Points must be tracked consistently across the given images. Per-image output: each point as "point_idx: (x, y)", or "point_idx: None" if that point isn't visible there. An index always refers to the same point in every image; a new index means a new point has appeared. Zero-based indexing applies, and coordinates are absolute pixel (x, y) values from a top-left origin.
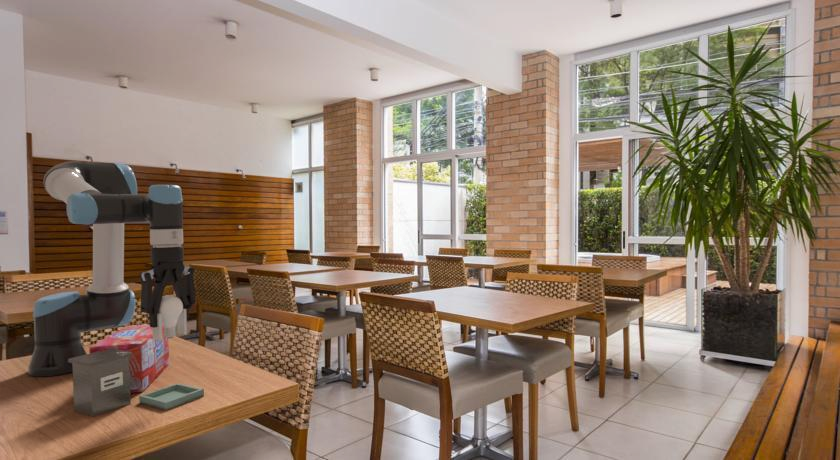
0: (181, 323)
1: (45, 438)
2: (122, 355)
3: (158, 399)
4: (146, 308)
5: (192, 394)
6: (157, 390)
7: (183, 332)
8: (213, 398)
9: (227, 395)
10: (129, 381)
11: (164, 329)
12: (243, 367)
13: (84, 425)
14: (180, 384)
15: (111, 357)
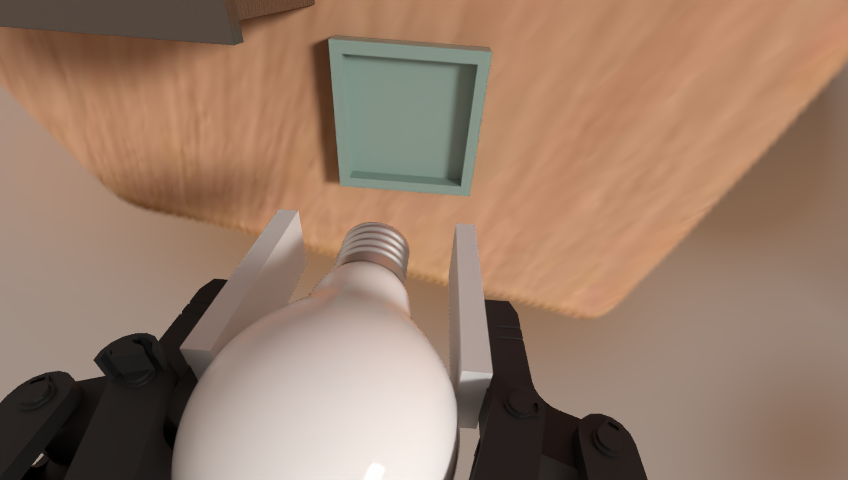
0: (451, 306)
1: (35, 30)
2: (168, 38)
3: (344, 140)
4: (44, 470)
5: (428, 190)
6: (398, 53)
7: (450, 276)
8: (461, 221)
9: (492, 238)
10: (281, 10)
11: (337, 262)
12: (802, 83)
13: (143, 47)
14: (482, 81)
15: (99, 17)
